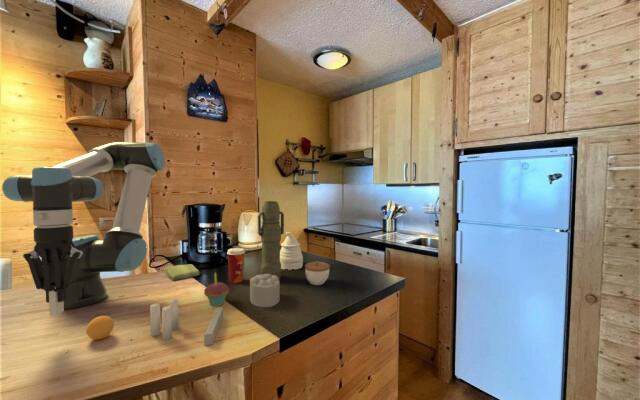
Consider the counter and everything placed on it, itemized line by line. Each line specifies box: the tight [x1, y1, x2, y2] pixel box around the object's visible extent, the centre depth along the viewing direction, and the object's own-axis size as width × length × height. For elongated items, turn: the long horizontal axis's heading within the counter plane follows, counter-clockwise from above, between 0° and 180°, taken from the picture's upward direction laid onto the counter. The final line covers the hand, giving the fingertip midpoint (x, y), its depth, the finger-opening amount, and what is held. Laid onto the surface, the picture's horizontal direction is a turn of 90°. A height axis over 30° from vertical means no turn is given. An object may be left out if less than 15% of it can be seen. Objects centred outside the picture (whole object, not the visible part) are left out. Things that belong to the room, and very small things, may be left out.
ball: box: [85, 315, 115, 341], centre depth 76 cm, size 6×6×6 cm
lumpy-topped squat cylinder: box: [249, 273, 281, 308], centre depth 102 cm, size 10×13×9 cm
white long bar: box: [203, 306, 224, 346], centre depth 81 cm, size 2×16×3 cm, turn 10°
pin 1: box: [161, 305, 173, 341], centre depth 77 cm, size 2×2×8 cm
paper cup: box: [226, 247, 246, 284], centre depth 122 cm, size 8×8×14 cm
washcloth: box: [164, 263, 201, 281], centre depth 131 cm, size 13×18×3 cm
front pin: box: [149, 302, 162, 337], centre depth 79 cm, size 2×2×8 cm
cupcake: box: [203, 271, 230, 306], centre depth 99 cm, size 9×8×12 cm
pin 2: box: [168, 298, 179, 331], centre depth 82 cm, size 2×2×8 cm
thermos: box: [257, 200, 285, 281], centre depth 124 cm, size 9×12×35 cm
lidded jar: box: [304, 260, 331, 286], centre depth 121 cm, size 11×11×9 cm
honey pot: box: [280, 231, 304, 271], centre depth 144 cm, size 13×13×18 cm
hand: (56, 313), depth 74 cm, fingers closed
